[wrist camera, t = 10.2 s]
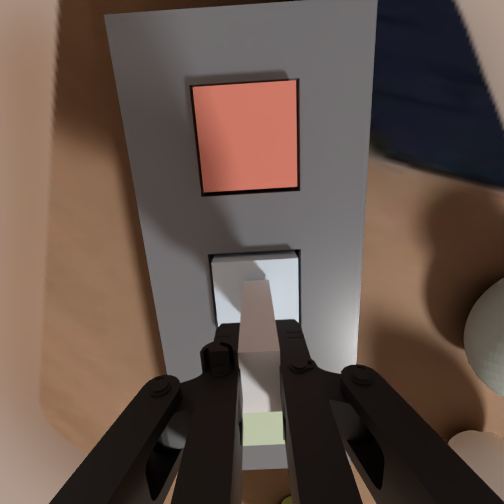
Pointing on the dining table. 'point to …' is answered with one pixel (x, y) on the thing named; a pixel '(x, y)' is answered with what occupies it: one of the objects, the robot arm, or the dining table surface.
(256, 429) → the green button
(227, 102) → the red button
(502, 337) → the air freshener
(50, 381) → the dining table surface
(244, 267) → the white button
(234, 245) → the button panel
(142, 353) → the dining table surface
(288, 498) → the plant pot
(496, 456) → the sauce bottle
